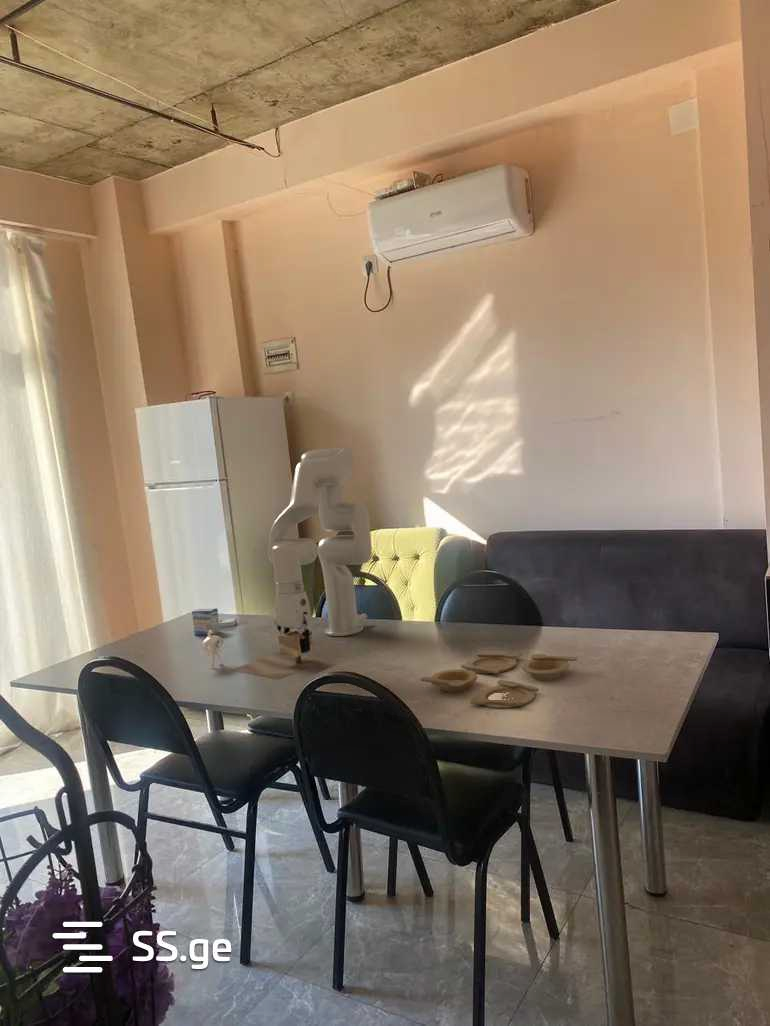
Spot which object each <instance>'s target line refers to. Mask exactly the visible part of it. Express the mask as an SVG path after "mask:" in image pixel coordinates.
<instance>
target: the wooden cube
mask: <svg viewBox="0 0 770 1026" xmlns="http://www.w3.org/2000/svg"><path fill="white" fill-rule="evenodd" d="M302 631H303V633H304V629H302ZM293 634H298V635H296V636H292V635H293ZM300 639H301V637H300V634H299V632H298V630H297V629H292V630H290V631H289V632H286V633H284V634H281V635H280V634H279V635H278V644H279V652H280V653H281V655H287V656H293V657H298V656H304V655H305V654H308V653H311V652H313V651H315V649H314V642H313V641H314V640H313V639H314V638H313V633H311V635H310V636H309V641H310V650H309V651H307V652H304V653H301V648H300Z"/></svg>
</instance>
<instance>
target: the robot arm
mask: <svg viewBox="0 0 770 1026" xmlns="http://www.w3.org/2000/svg"><path fill="white" fill-rule="evenodd" d="M355 457H356V456H355V455H354V452H353V451H352V449H350V448H349V447H335V448H333V447H331V448H321V449H312V450H309V451H307V452H304V453H303V454H302V455H301V457H300V462H298V463H297V465H296V466H295V470H294V475H293V481H292V487H291V494H290V500H289V505H288V506H287V507H286V508H285V509H284V510H283V511H282V512H281V513H280V514H279V516H278V517H277V518H276V519H275V521H274V523H273V524H272V526H271V528H270V532H269V537H268V544H267V545H268V546H267V556H268V559H269V561H270V563H272V564H273V565H272V566H273V573H274V574H273V575H274V581H275V591H276V593H275V615H276V617H275V619H273V624H274V626H276V628H277V630H278V632H279V635H281V634H284V633H286V632H289V631H292V630H295V629H297V630H298V632H299V634H300V637H301V639H300V648H301V653H304V652H307V651H309V650H310V641H309V636H310V635H311V633H312V632H313V631H314V629H315V628H316V624H315V623H314V622H313V618H312V611H311V606H310V601H309V597H308V595H307V592H306V591H305V590H304V588H305V585H304V583H303V574H302V567H301V566H304V565H310V564H312V563H314V561H315V560H316V559H317V558H319V562H320V565H321V571H322V575H323V582H324V589H325V600H326V607H327V608H326V609H327V617H328V624H329V625H328V627H326V628H325V629H324V633H325V635H327V636H329V637H330V636H331V637H344V636H345V637H346V636H352V635H355V634H359V633H361V632H362V631H363V630H364V625H363V624H362V623H361V622H362V621H364V620H366V619H368V615H367V614H366V613H361V614H358V609H357V601H356V593H355V591H356V590H355V582H354V576H353V574H352V572H351V571H350V568H348V566H350V565H364V564H366V563H368V562H370V560H371V558H372V553H373V551H372V549H373V548H372V537H371V535H372V534H371V524H370V515H369V510H368V508H367V506H366V504H365V503H364V502H362V501H360V500H348V501H346V500H345V494H344V487H343V484H342V482H344V481H345V480H346V479H347V478H348V477H349V476H350V475H351V474H352V473H353V471H354V469H355V465H356V458H355ZM317 511H318V513H319V514H318V516H319V523H320V527H321V529H322V530H323V531H325V532H327V533H328V532H329V533H334V532H352V534H348V535H347V534H344V535H343V534H342V535H331V536H326V537H323V538H322V539H321V540H320V541H319V542H318V544H317V543H316V542H315V541H314V540H313V539H311V538H307V537H305V538H304V537H302V538H301V537H300V538H299V537H298V538H285V537H286V536H287V534H288V533H289V531H290V530H291V529H292V528H293V527H294V526H296V525H297V524H299V523H301V522H303V521H305V520H307V519H309V518H311V517H312V516H314V515H315V514H317ZM291 629H292V630H291ZM302 630H304V633H303V631H302ZM312 634H313V633H312Z"/></svg>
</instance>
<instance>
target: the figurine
mask: <svg viewBox="0 0 770 1026" xmlns="http://www.w3.org/2000/svg"><path fill="white" fill-rule="evenodd" d="M224 643H225V641H224V639H223V638H222V637H220V636H219V635H216V634H215V635H214V633H213V631H212V630H209V632H208V635H207V636H206V638H205V639H204V640H203V642H201V649H202V650H203V651H205V652H207V655H206V657H207V658H208V656H209V659H210V661H209V664H210V665H209V669H213V668H214V661H215V657H216V659H217V661H218V664H219V666H221V665H223V662H222V658H221V653H222V650H220V649H221V647H222V646H223V645H224Z"/></svg>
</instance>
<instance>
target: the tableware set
mask: <svg viewBox="0 0 770 1026" xmlns="http://www.w3.org/2000/svg"><path fill="white" fill-rule="evenodd" d="M522 654H523V653H522V652H509V653H508V652H507V653H495V652H494V653H493V652H492V653H491V652H476V655H475V656H476V657H473V658H471V659H468V660H467V661H466V662H465V663H462V664H460V667H461V668H459V669H457V668H455V669H454V668H453V669H446V670H442V671H439V672H436V673H433V675H431V676H430V677H427V676H423V677H420V681H421V682H424V683H430V684H431V685H433V686H435V687H439V689H440V690H441V691H443V692H446V691H448V693H456V692H457V691H458V692H462V691H465V690H467V689H468V688H469V686H470V685H471V684H473V683H474V682H476V681H477V680H478V674H485V675H487V674H488V675H489V674H496V675H498V674H500V673H502V672H503V673H504V672H507V671H509V670H512V669H514V668H516V666H517V665H518V664H517V661H518V660H517V659H516V658H520V657H521V656H522ZM529 657H530V660H527V661H525V662H523V663H522V664H521V670H522V671H523V672H525V673H526V674H530V676H531V678H532V679H534V680H539V681H552V679H553V680H557V679H558V677H559V678H560V677H561V675H562V673H563V672H564V671H567V670H568V669H569V667H570V663H569V662H577V660H578V657H577V656H560V655H559V656H558V655H546V654H543V653H535V654H532V655H530V656H529ZM556 678H557V679H556ZM496 683H497V684H498V685H496V686H492V687H489V688H486V689H483V690H481V691H480V692H479V693H477V694H476V697H472V698H471V700H470V701H469V704H472V705H482V706H485V707H487V708H492V709H510V708H517V707H520V706H524V705H527V704H529V703H531V702H532V701H533V700H534V699H535V697H536V693H537V692H539V691H540V689H539V687H538V686H534V685H529V684H523V683H520V682H515V681H510V680H506V679H502V678H501V679H499V680H497V681H496ZM507 692H508V693H509V694H508V693H507ZM535 692H536V693H535ZM494 693H501V694H502V693H504V694H505V693H507V694H506V695H505V696H506V697H505V696H503V695H504V694H503V695H502V696H503V697H502V696H501V697H502V698H501V699H503V700H489V699H488V697H489V696H490V695H492V694H494ZM512 698H513V699H512ZM504 699H506V700H504ZM508 699H509V700H508Z"/></svg>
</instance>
